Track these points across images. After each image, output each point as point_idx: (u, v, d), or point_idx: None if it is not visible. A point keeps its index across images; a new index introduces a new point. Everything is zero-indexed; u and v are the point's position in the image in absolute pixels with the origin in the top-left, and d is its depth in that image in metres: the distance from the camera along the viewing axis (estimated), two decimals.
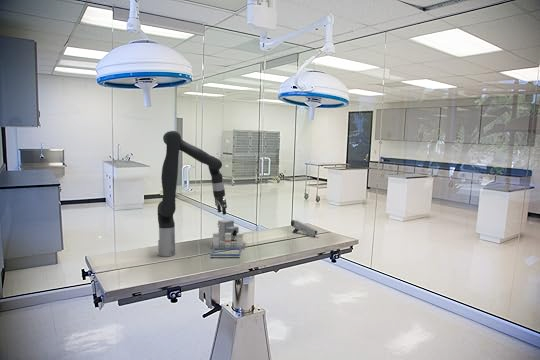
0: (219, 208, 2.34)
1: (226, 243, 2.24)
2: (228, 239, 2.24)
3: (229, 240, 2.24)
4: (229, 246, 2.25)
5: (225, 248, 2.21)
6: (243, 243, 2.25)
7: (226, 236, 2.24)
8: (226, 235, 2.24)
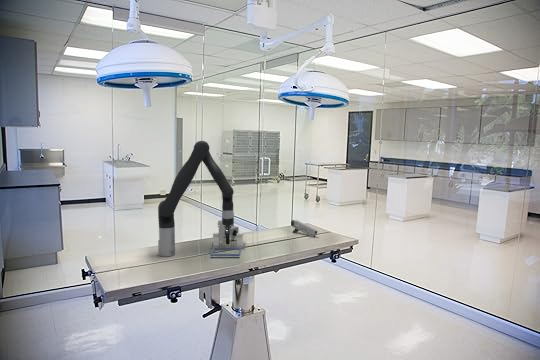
0: None
1: None
2: None
3: None
4: (229, 246, 2.25)
5: (225, 248, 2.21)
6: (243, 243, 2.25)
7: None
8: None
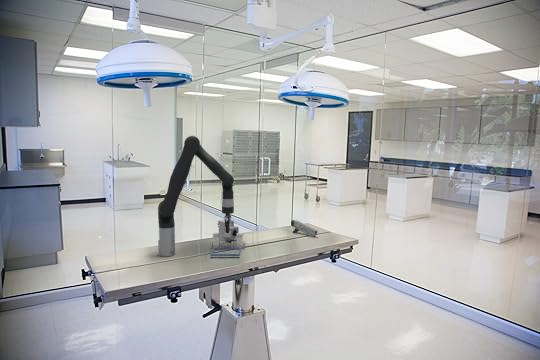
0: None
1: None
2: None
3: (229, 229, 2.23)
4: (229, 235, 2.24)
5: (225, 248, 2.21)
6: (243, 243, 2.25)
7: None
8: (226, 224, 2.23)
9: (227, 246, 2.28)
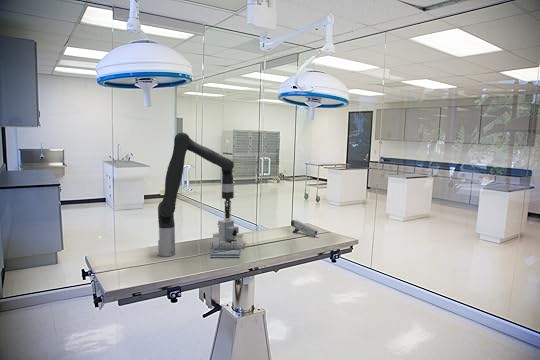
0: None
1: None
2: None
3: (229, 214, 2.23)
4: (229, 220, 2.23)
5: (225, 248, 2.21)
6: (243, 243, 2.25)
7: None
8: (226, 209, 2.22)
9: (227, 246, 2.28)
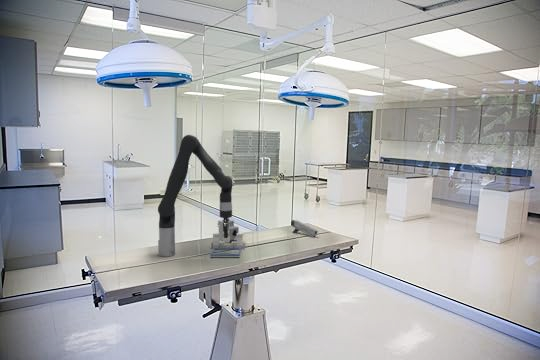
0: None
1: None
2: None
3: None
4: (227, 240, 2.13)
5: (225, 248, 2.21)
6: (243, 243, 2.25)
7: None
8: None
9: (227, 246, 2.28)
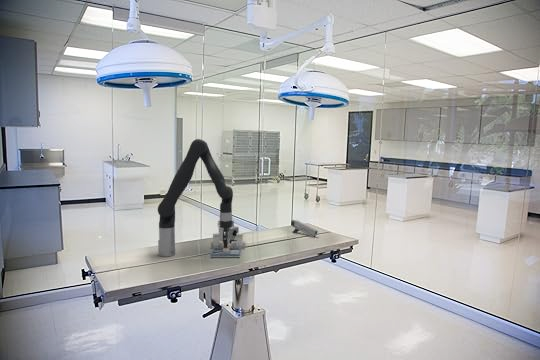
0: None
1: (224, 249, 2.13)
2: None
3: (227, 246, 2.13)
4: (227, 252, 2.13)
5: None
6: (243, 243, 2.25)
7: None
8: None
9: None
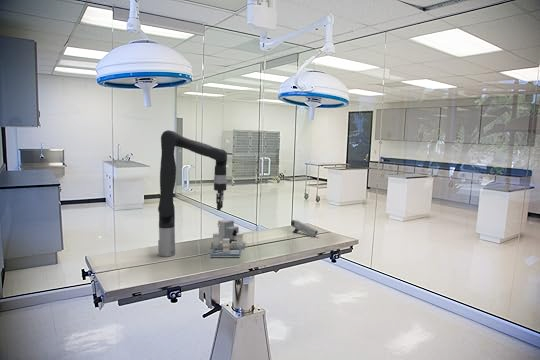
0: (220, 203, 2.17)
1: (224, 249, 2.13)
2: (226, 245, 2.13)
3: (227, 246, 2.13)
4: (227, 252, 2.13)
5: None
6: (243, 243, 2.25)
7: (224, 242, 2.13)
8: (224, 241, 2.12)
9: None
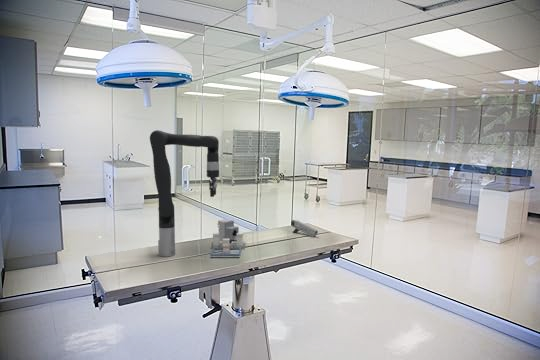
0: (214, 190, 2.18)
1: (224, 249, 2.13)
2: (226, 245, 2.13)
3: (227, 246, 2.13)
4: (227, 252, 2.13)
5: None
6: (243, 243, 2.25)
7: (224, 242, 2.13)
8: (224, 241, 2.12)
9: None
